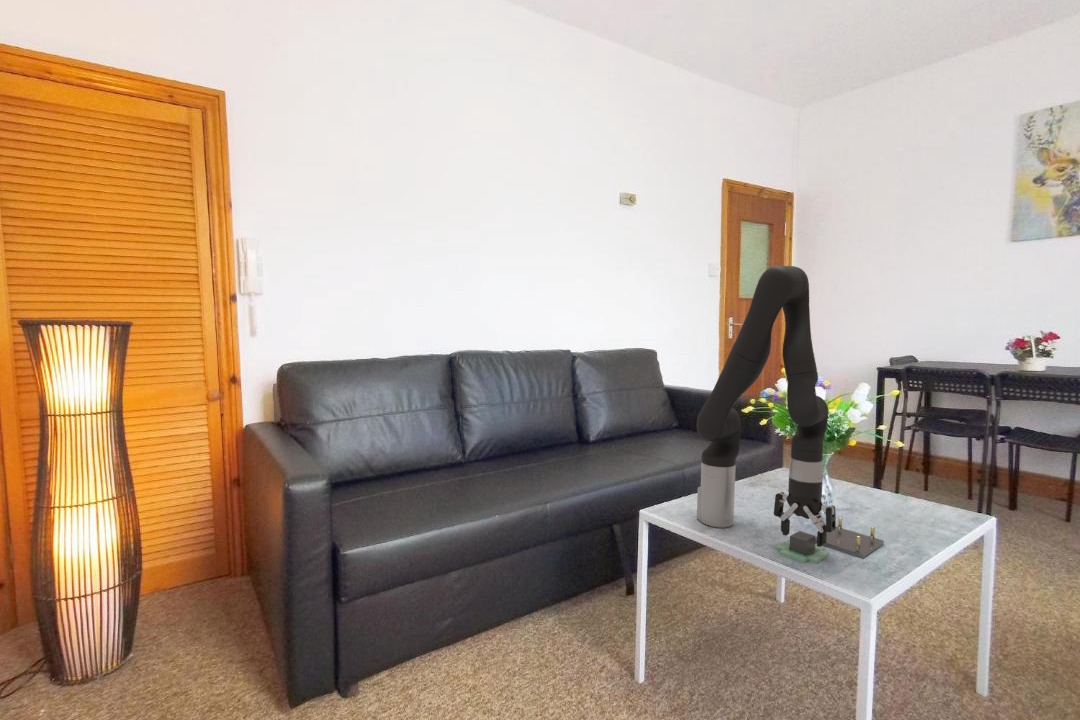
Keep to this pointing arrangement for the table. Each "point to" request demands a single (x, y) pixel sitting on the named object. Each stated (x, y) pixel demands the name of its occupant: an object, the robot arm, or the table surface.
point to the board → (802, 557)
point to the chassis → (852, 541)
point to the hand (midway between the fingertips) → (802, 540)
